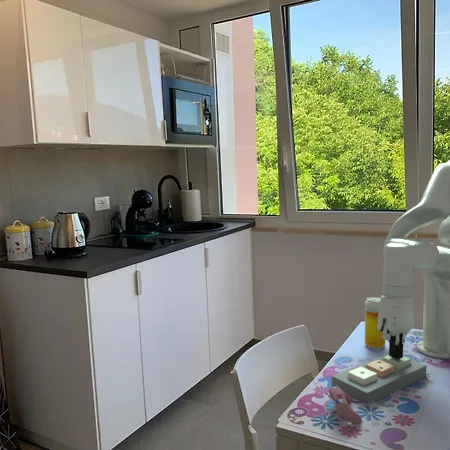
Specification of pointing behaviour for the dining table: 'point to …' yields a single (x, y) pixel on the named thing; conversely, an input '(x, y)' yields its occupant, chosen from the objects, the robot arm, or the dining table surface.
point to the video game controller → (344, 405)
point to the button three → (397, 362)
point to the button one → (362, 376)
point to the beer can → (373, 324)
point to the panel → (379, 381)
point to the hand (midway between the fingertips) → (395, 357)
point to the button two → (380, 368)
